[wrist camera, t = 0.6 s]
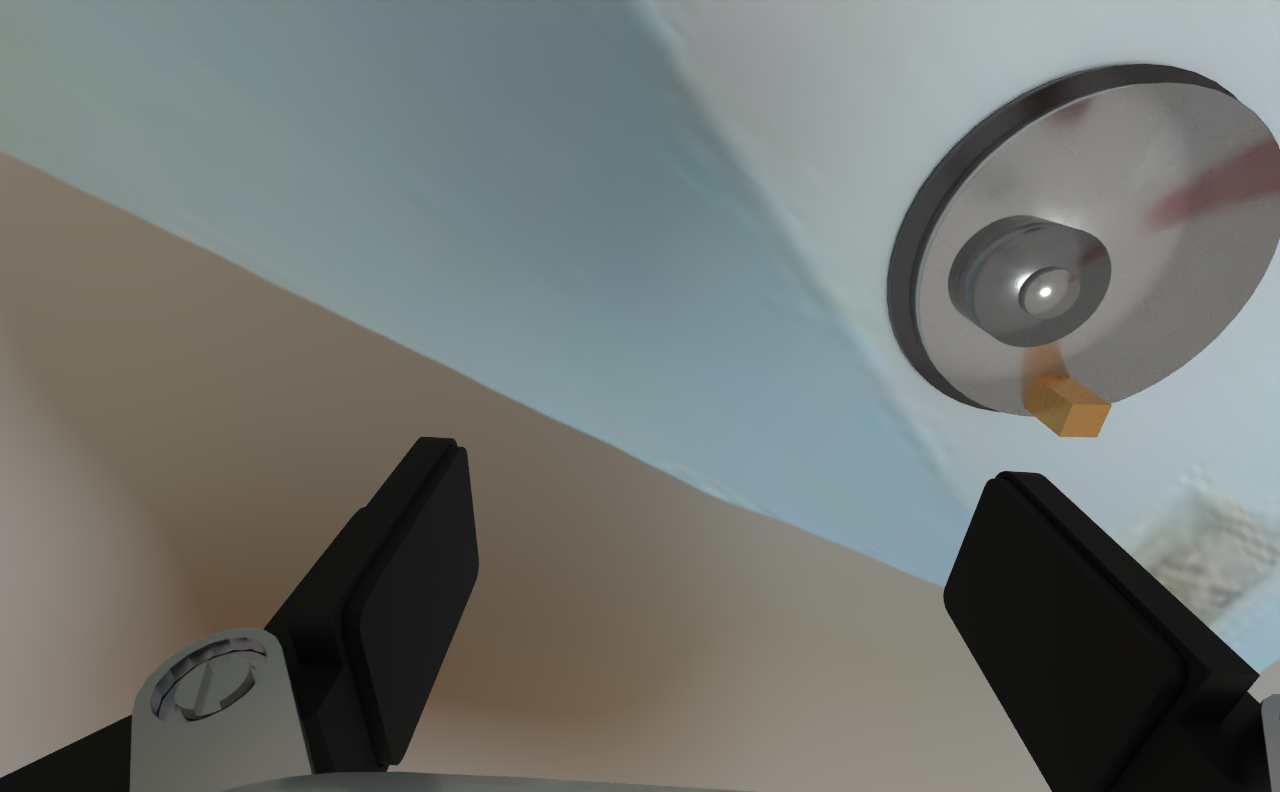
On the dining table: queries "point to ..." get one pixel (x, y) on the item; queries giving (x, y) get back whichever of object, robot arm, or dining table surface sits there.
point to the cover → (1029, 279)
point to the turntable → (1110, 244)
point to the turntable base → (960, 161)
